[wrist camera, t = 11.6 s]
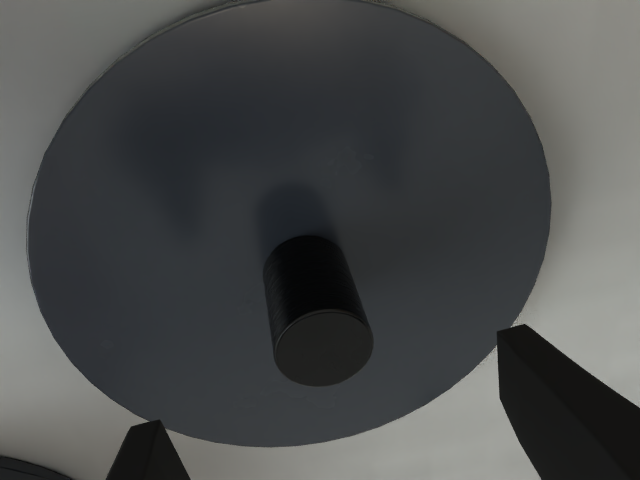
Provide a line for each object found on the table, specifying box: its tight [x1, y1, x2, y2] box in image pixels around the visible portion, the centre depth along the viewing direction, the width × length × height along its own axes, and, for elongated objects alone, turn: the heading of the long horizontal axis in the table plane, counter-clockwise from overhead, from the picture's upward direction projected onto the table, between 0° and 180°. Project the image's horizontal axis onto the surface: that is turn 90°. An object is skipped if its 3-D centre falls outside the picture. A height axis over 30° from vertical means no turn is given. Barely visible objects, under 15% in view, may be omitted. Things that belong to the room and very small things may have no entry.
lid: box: [26, 0, 551, 447], centre depth 16 cm, size 15×15×4 cm
